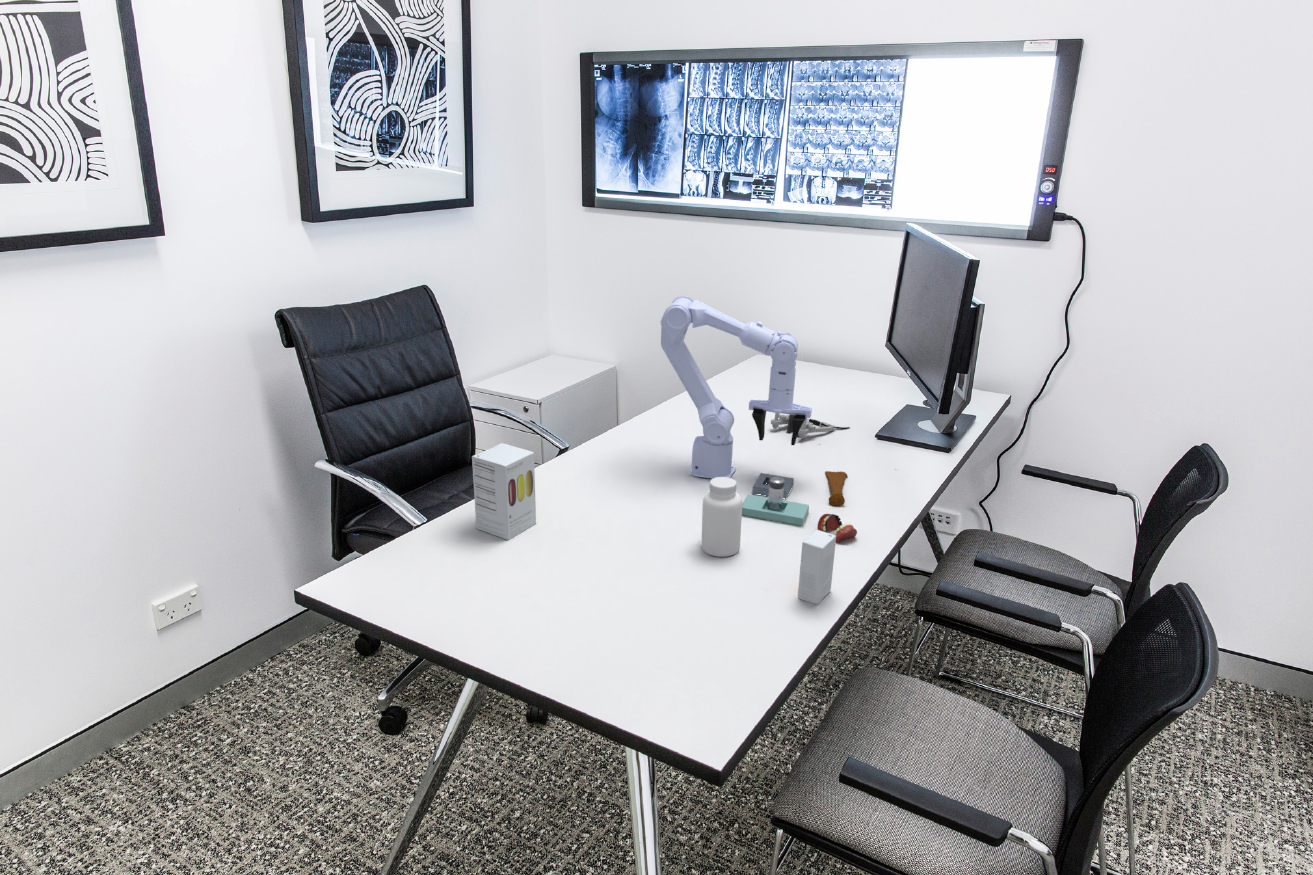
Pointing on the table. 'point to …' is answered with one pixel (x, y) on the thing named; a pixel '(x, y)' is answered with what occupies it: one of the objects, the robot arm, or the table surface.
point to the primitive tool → (836, 487)
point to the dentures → (836, 527)
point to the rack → (789, 515)
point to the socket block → (763, 489)
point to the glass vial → (776, 494)
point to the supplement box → (504, 490)
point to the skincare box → (816, 566)
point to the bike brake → (805, 426)
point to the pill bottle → (721, 518)
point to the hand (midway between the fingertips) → (777, 441)
